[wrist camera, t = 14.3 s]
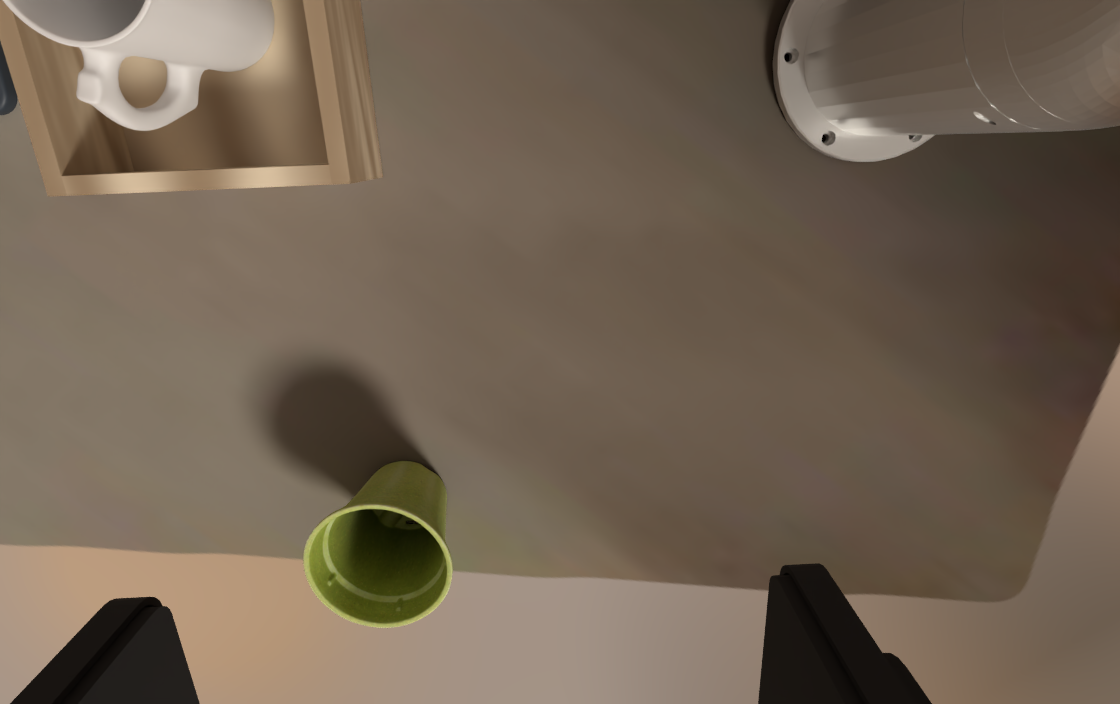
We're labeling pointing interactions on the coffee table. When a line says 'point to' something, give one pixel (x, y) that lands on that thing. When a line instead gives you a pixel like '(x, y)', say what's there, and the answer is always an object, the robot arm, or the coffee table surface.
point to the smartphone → (6, 86)
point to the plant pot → (384, 550)
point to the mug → (152, 46)
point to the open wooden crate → (209, 112)
